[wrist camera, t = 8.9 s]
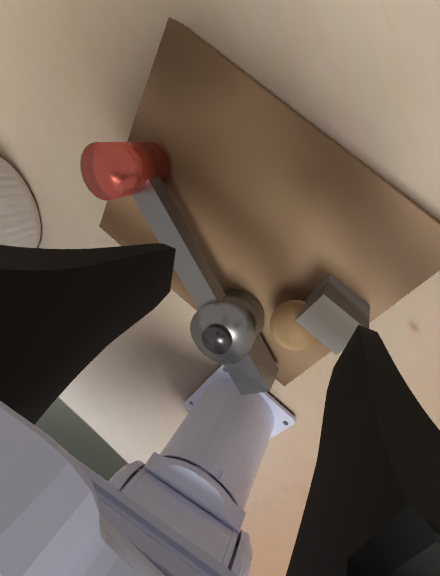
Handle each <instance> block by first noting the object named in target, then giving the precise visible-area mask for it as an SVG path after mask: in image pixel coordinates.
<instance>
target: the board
mask: <svg viewBox="0 0 440 576" xmlns="http://www.w3.org/2000/svg"><path fill="white" fill-rule="evenodd" d="M128 142H154V143H156V144H158V145H159V146H160V147H161V148H162V149H163V150H164V152H165V153H166V155H167V157H168V160H169V165H170V173H169V178H168V180H167V182H166V184H165V187H166V189H167V190H168V192H169V194H170V196H171V198H172V199H173V201H174V203H175V205H176V207H177V208H178V210H179V212H180V214H181V216H182V217H183V219H184V221H185V223H186V224H187V226H188V228H189V230H190V232H191V233H192V235H193V237H194V239H195V241H196V242H197V244H198V246H199V248H200V250H201V251H202V253H203V255H204V257H205V259H206V260H207V262H208V264H209V266H210V267H211V269H212V271H213V273H214V275H215V276H216V278H217V280H218V282H219V284H220V285H221V287H222V289H223V290H224V289H228V288H234V289H239V290H242V291H244V292H246V293H248V294H250V295H251V296H252V297H253V298H254V299H255V300H256V301H257V302H258V303H259V305H260V306H261V308H262V310H263V313H264V327H263V329H262V331H261V333H260V336H261V338H262V339H263V341H264V343H265V345H266V347H267V348H268V350H269V352H270V354H271V356H272V358H273V359H274V361H275V363H276V365H277V367H278V368H279V371H278V373H277V375H276V378H275V379H276V380H278V381H279V382H280V383H281V384H282V385H283V386H285V385H287V384H288V383H289V382H291V381H292V380H293V379H295V378H296V377H297V376H299V375H300V374H301V373H303V372H304V371H305V370H307V369H308V368H309V367H311V366H312V365H313V364H315V363H316V362H317V361H319V360H320V359H321V358H323V357H324V356H325V355H327V354H328V353H329V352H331V351H332V352H333V353H334V354H336V355H337V354H338V353H339V352H341V351H342V350H344V349H345V347H346V345H347V343H348V342H349V340H350V338H351V336H352V335H353V333H354V331H355V329H356V328H357V326H358V324H359V325H361V326H363V327H366V328H368V329H369V323H370V322H371V321H372V320H374V319H375V318H376V317H378V316H379V315H380V314H382V313H383V312H384V311H386V310H387V309H388V308H390V307H391V306H392V305H394V304H395V303H396V302H398V301H399V300H400V299H402V298H403V297H404V296H406V295H407V294H408V293H410V292H411V291H412V290H414V289H415V288H416V287H418V286H419V285H420V284H422V283H423V282H424V281H426V280H427V279H428V278H430V277H431V276H432V275H434V274H435V273H437V272H438V271H439V270H440V222H439V221H438V220H437V219H435V218H434V217H433V216H431V215H430V214H429V213H427V212H426V211H425V210H424V209H422V208H421V207H420V206H418V205H417V204H416V203H414V202H413V201H412V200H411V199H409V198H408V197H407V196H405V195H404V194H403V193H401V192H400V191H399V190H397V189H396V188H395V187H394V186H392V185H391V184H390V183H388V182H387V181H386V180H384V179H383V178H382V177H381V176H379V175H378V174H377V173H375V172H374V171H373V170H371V169H370V168H369V167H368V166H366V165H365V164H364V163H362V162H361V161H360V160H358V159H357V158H356V157H354V156H353V155H352V154H351V153H349V152H348V151H347V150H345V149H344V148H343V147H341V146H340V145H339V144H338V143H336V142H335V141H334V140H332V139H331V138H330V137H328V136H327V135H326V134H325V133H323V132H322V131H321V130H319V129H318V128H317V127H315V126H314V125H313V124H311V123H310V122H309V121H308V120H306V119H305V118H304V117H302V116H301V115H300V114H298V113H297V112H296V111H295V110H293V109H292V108H291V107H289V106H288V105H287V104H285V103H284V102H283V101H282V100H280V99H279V98H278V97H276V96H275V95H274V94H272V93H271V92H270V91H268V90H267V89H266V88H265V87H263V86H262V85H261V84H259V83H258V82H257V81H255V80H254V79H253V78H252V77H250V76H249V75H248V74H246V73H245V72H244V71H242V70H241V69H240V68H238V67H237V66H236V65H235V64H233V63H232V62H231V61H229V60H228V59H227V58H225V57H224V56H223V55H222V54H220V53H219V52H218V51H216V50H215V49H214V48H212V47H211V46H210V45H209V44H207V43H206V42H205V41H203V40H202V39H201V38H199V37H198V36H197V35H195V34H194V33H193V32H192V31H190V30H189V29H188V28H186V27H185V26H184V25H182V24H180V23H179V22H177V21H175V20H173V19H172V18H170V17H169V19H168V22H167V25H166V28H165V31H164V34H163V37H162V40H161V43H160V46H159V49H158V52H157V55H156V58H155V61H154V64H153V67H152V70H151V73H150V76H149V79H148V82H147V85H146V88H145V91H144V94H143V97H142V100H141V103H140V106H139V109H138V112H137V115H136V118H135V121H134V124H133V127H132V130H131V133H130V136H129V139H128ZM99 227H101V228H102V229H103V230H104V231H105V232H106V233H108V234H109V235H110V236H111V237H112V238H113V239H115V240H116V241H117V242H118V243H119V244H120V245H121V246H129V245H139V244H152V243H159V242H158V240H157V238H156V237H155V235H154V233H153V232H152V230H151V228H150V226H149V225H148V223H147V221H146V220H145V218H144V216H143V214H142V213H141V211H140V209H139V208H138V206H137V204H136V202H135V201H134V199H133V197H132V196H131V195H130V196H126V197H122V198H117V199H113V200H108V202H107V205H106V208H105V211H104V214H103V217H102V220H101V223H100V226H99ZM171 289H172V290H174V291H175V292H176V293H177V294H178V295H179V296H180V297H182V298H183V299H184V300H185V301H186V302H187V303H189V304H190V305H191V306H192V307H193V308H194V309H196V310H197V311H199V310H198V309H197V307H196V305H195V304H194V302H193V300H192V298H191V297H190V295H189V293H188V292H187V290H186V288H185V286H184V285H183V283H182V281H181V280H180V278H179V276H178V274H177V273H176V271H175V269H174V268H173V274H172V281H171Z"/></svg>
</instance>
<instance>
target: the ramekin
mask: <svg viewBox="0 0 440 576" xmlns="http://www.w3.org/2000/svg"><path fill="white" fill-rule="evenodd" d="M40 236H41V224H40V218H39V213H38V209H37V206H36V203H35V201H34V198H33V196H32V194H31V192H30V190H29V188H28V186H27V185H26V183H25V182H24V180H23V179H22V177H21V176H20V175H19V173H18V172H17V171H16V170H15V169H14V168H13V167H12V166H11V165H10V164H9V163H8V162H7V161H5V160H4V159H2V158H1V157H0V245H7V246H16V247H27V248H37V246H38V244H39V241H40Z"/></svg>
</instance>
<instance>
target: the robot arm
mask: <svg viewBox="0 0 440 576" xmlns="http://www.w3.org/2000/svg"><path fill="white" fill-rule="evenodd" d="M175 252H176V249H175V248H173V247H171V246H168V245H166V244H163V243H152V244H139V245H129V246H119V247H108V248H94V249H42V248H27V247H16V246H7V245H0V576H248V573H249V569H250V565H251V560H252V547H251V544H250V537H249V534H248V533H246V532H244V531H242V530H241V531H240V528H241V526H242V523H243V520H244V517H245V514H246V512H245V511H244V510H243V509H244V507H245V504H246V501H247V498H248V496H249V493H250V490H251V487H252V485H253V482H254V479H255V477H256V474H257V471H258V468H259V466H260V463H261V460H262V457H263V455H264V452H265V449H266V447H267V444H268V441H269V439H270V438H272V437H274V436H275V435H277V434H279V433H280V432H282V431H284V430H285V429H287V428H288V427H290V426H292V425H293V424H294V423H295V420H296V419H295V417H294V415H292V414H291V413H290V412H289V411H288V410H287V409H285V408H284V407H283V406H282V405H281V404H280V403H279V402H277V401H276V400H275V399H274V398H273V397H272V396H271V395H269V394H268V393H267V392H261V393H254V394H247V395H241V394H240V392H239V391H238V389H237V387H236V386H235V384H234V382H233V380H232V379H231V377H230V375H229V374H228V372H227V370H226V369H225V367H224V365H223V364H222V365H221V366H220V367H219V368H218V369H217V370H216V371H215V372H214V373H213V374H212V375H211V376H210V377H209V378H208V379H207V380H206V381H205V382H204V383H203V384H202V385H201V386H200V387H199V388H198V389H197V390H196V391H195V392H194V393H193V394H192V395H191V396H190V397H189V398H188V399H187V400H186V401H185V403H184V404H183V406H184V408H185V409H186V410H187V411H188V412H189V413H188V415H187V416H186V418H185V419H184V420H183V422H182V423H181V425H180V426H179V428H178V429H177V431H176V432H175V433H174V435H173V436H172V438H171V439H170V441H169V442H168V444H167V445H166V446H165V448H164V449H163V451H162V452H161V454H160V455H159V454H157V453H156V452H154V453H153V454H152V456H151V457H150V458H149V460H148V461H147V462H146V464H144V463H143V462H142V461H139V460H138V461H135V462H133V463H131V464H128V465H126V466H124V467H122V468H121V469H120V470H119V471H118V472H117V473H116V474H115V475H114V476H113V477H112V478H111V479H110V480H109V481H108V482H107V481H106V480H105V479H103V478H102V477H101V476H99V475H98V474H96V473H95V472H94V471H92V470H91V469H89V468H88V467H87V466H85V465H84V464H82V463H81V462H80V461H78V460H77V459H75V458H74V457H73V456H71V455H70V454H69V453H68V452H67V451H66V450H64V449H63V448H62V447H61V446H60V445H59V444H58V443H56V441H54V440H53V439H52V438H51V437H50V436H49V435H47V434H46V433H45V432H43V431H42V430H40V429H39V428H38V427H36V426H35V425H34V424H35V423H36V422H37V421H38V420H39V418H40V417H41V416H42V415H43V414H44V412H45V411H46V410H47V409H48V408H49V406H50V405H51V404H52V403H53V402H54V401H55V400H56V398H57V397H58V396H59V395H60V394H61V393H62V392H63V391H64V390H65V388H66V387H67V386H68V385H69V384H70V383H71V382H72V381H73V380H74V379H75V378H76V376H77V375H78V374H79V373H80V372H81V371H82V370H83V369H84V368H85V367H86V366H87V365H88V364H89V363H90V362H91V361H92V360H93V359H94V358H95V357H96V356H97V355H98V354H99V353H100V352H101V351H102V350H103V349H104V348H105V347H106V346H107V345H109V344H110V343H111V342H112V341H113V340H115V339H116V338H117V337H118V336H120V335H121V334H122V333H123V332H125V331H126V330H127V329H129V328H130V327H131V326H132V325H134V324H135V323H136V322H138V321H139V320H140V319H141V318H143V317H144V316H145V315H146V314H148V313H149V312H150V311H151V310H153V309H154V308H155V307H156V306H157V305H158V304H159V303H160V302H161V301H162V300H163V299H164V298H165V297H166V295H167V294H168V293H169V292H170V289H171V281H172V274H173V267H174V260H175ZM286 421H287V422H286ZM239 531H240V532H239ZM238 533H239V534H238ZM286 576H440V430H439V429H438V428H437V427H436V425H435V424H434V423H433V421H432V420H431V419H430V418H429V416H428V415H427V414H426V412H425V411H424V409H423V408H422V407H421V405H420V404H419V402H418V401H417V399H416V398H415V396H414V395H413V393H412V392H411V390H410V389H409V387H408V386H407V384H406V382H405V381H404V379H403V378H402V376H401V374H400V372H399V371H398V369H397V367H396V365H395V364H394V362H393V360H392V358H391V356H390V355H389V353H388V351H387V349H386V347H385V345H384V343H383V341H382V340H381V338H380V336H379V334H378V333H377V332H375V331H373V330H371V329H368V328H366V327H363V326H361V325H359V324H358V326H357V328H356V329H355V331H354V333H353V335H352V336H351V338H350V340H349V342H348V343H347V345H346V347H345V349H344V350H343V352H342V354H341V356H340V357H339V359H338V361H337V363H336V364H335V366H334V368H333V372H332V375H331V379H330V382H329V386H328V389H327V394H326V401H325V408H324V415H323V423H322V430H321V437H320V445H319V452H318V457H317V462H316V467H315V471H314V475H313V479H312V483H311V487H310V491H309V494H308V498H307V502H306V506H305V509H304V513H303V517H302V521H301V524H300V528H299V532H298V535H297V539H296V542H295V546H294V549H293V553H292V556H291V560H290V563H289V567H288V570H287V573H286Z"/></svg>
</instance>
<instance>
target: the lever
mask: <svg viewBox="0 0 440 576" xmlns="http://www.w3.org/2000/svg"><path fill="white" fill-rule="evenodd" d="M81 172H82V176H83V179H84V181H85V184H86V185H87V187H88V189H89V190H90V191H91V192H92V193H93V194H94V195H95V196H96V197H98V198H99V199H102V200H106V201H107V200H113V199H117V198H122V197H126V196H130V195H131V196H132V197H133V199H134V201H135V202H136V204H137V206H138V208H139V209H140V211H141V213H142V214H143V216H144V218H145V220H146V221H147V223H148V225H149V226H150V228H151V230H152V232H153V233H154V235H155V237H156V238H157V240H158V242H159V243H163V244H166V245H168V246H171V247H173V248H175V249H176V252H175V260H174V267H173V268H174V269H175V271H176V273H177V274H178V276H179V278H180V280H181V281H182V283H183V285H184V286H185V288H186V290H187V292H188V293H189V295H190V297H191V298H192V300H193V302H194V304H195V305H196V307H197V309H198V310H199V311H198V312H197V313H196V314H195V315H194V316H193V318H192V320H191V325H190V330H191V335H192V338H193V340H194V342H195V344H196V345H197V347H198V348H199V349H200V351H201V352H202V353H203V354H205V355H206V356H207V357H209V358H210V359H212V360H214V361H216V362H219V363H223V365H224V367H225V369H226V370H227V372H228V374H229V375H230V377H231V379H232V380H233V382H234V384H235V386H236V387H237V389H238V391H239V392H240V394H241V395H247V394H254V393H261V392H268V391H270V389H271V387H272V384H273V382H274V380H275V378H276V375H277V373H278V371H279V368H278V367H277V365H276V363H275V361H274V359H273V358H272V356H271V354H270V352H269V350H268V348H267V347H266V345H265V343H264V341H263V339H262V338H261V336H260V333H261V331H262V329H263V327H264V313H263V310H262V308H261V306H260V305H259V303H258V302H257V301H256V300H255V299H254V298H253V297H252V296H251V295H250V294H248V293H246V292H244V291H242V290H239V289H234V288H228V289H224V290H223V289H222V287H221V285H220V284H219V282H218V280H217V278H216V276H215V275H214V273H213V271H212V269H211V267H210V266H209V264H208V262H207V260H206V259H205V257H204V255H203V253H202V251H201V250H200V248H199V246H198V244H197V242H196V241H195V239H194V237H193V235H192V233H191V232H190V230H189V228H188V226H187V224H186V223H185V221H184V219H183V217H182V216H181V214H180V212H179V210H178V208H177V207H176V205H175V203H174V201H173V199H172V198H171V196H170V194H169V192H168V190H167V189H166V187H165V184H166V182H167V180H168V178H169V173H170V165H169V160H168V157H167V155H166V153H165V152H164V150H163V149H162V148H161V147H160V146H159V145H158V144H156V143H154V142H96V143H91V144H89V145H88V146H87V147H86V148H85V149H84V151H83V153H82V156H81Z"/></svg>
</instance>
